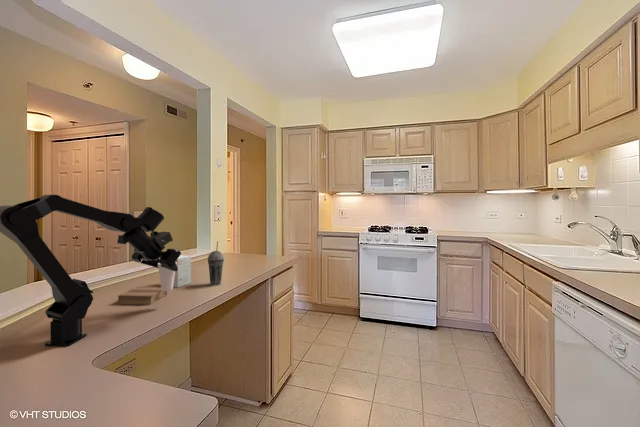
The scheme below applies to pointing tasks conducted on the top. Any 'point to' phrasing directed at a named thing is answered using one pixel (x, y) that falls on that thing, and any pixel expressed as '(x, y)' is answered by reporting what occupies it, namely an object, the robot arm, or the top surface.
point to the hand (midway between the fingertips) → (170, 269)
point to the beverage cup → (215, 266)
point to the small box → (183, 271)
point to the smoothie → (166, 278)
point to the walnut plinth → (141, 295)
